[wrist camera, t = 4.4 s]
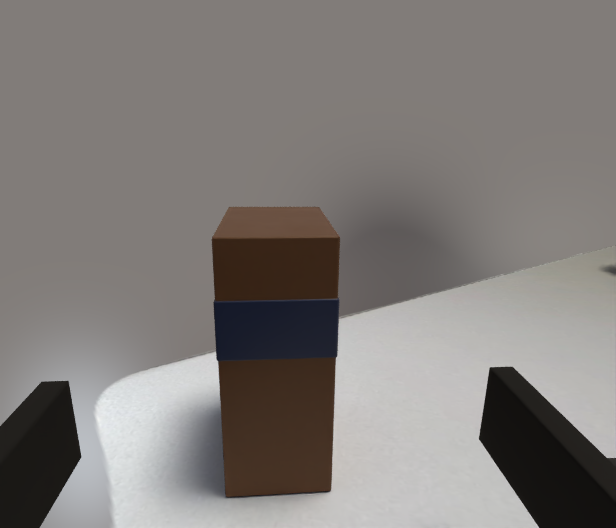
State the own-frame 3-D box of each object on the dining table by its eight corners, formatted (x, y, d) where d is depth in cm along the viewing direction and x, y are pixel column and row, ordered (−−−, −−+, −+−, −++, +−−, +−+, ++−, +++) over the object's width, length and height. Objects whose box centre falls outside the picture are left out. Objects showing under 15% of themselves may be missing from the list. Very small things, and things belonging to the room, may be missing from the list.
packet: (332, 492, 18) (342, 236, 15) (224, 498, 18) (209, 237, 14) (316, 400, 24) (320, 206, 21) (235, 403, 24) (227, 206, 21)
